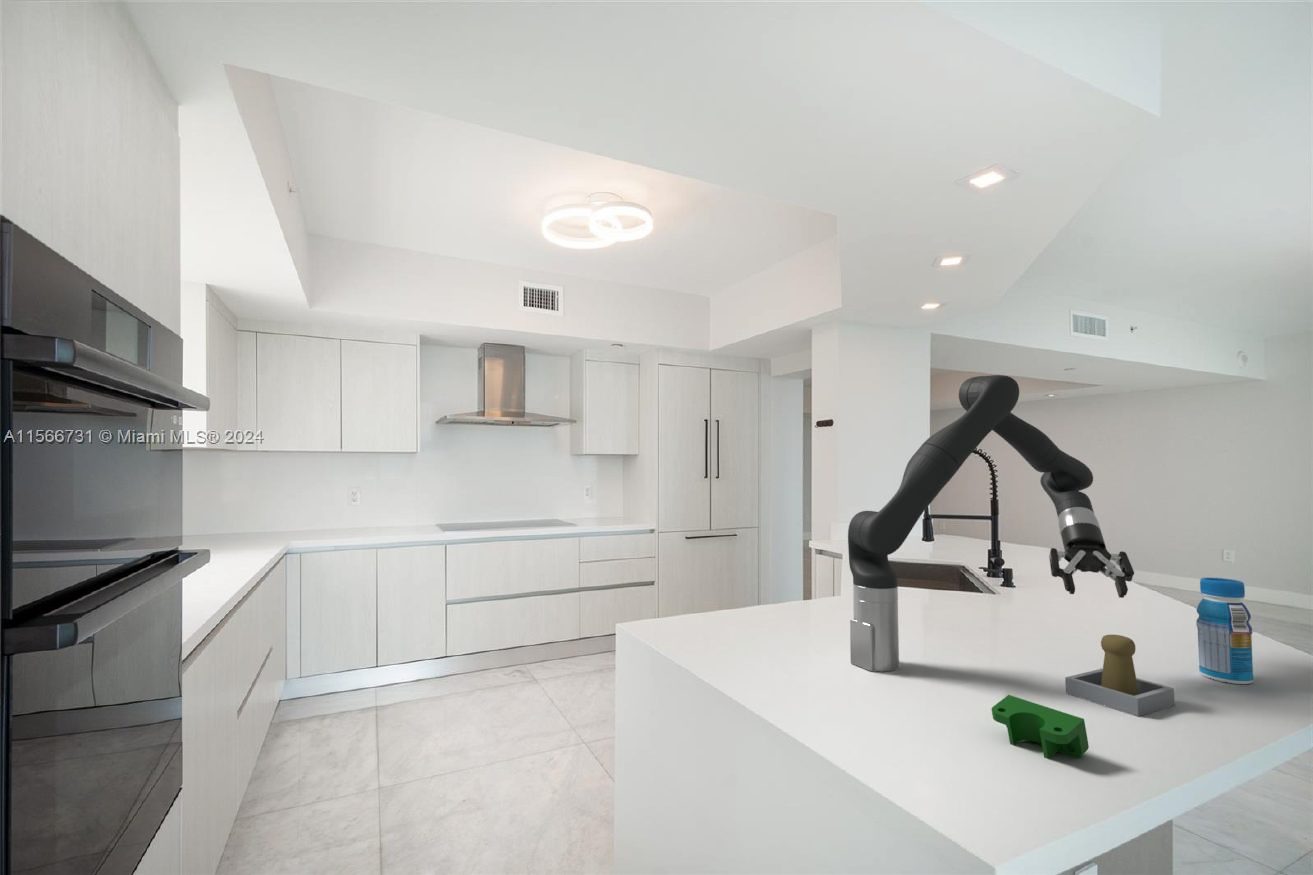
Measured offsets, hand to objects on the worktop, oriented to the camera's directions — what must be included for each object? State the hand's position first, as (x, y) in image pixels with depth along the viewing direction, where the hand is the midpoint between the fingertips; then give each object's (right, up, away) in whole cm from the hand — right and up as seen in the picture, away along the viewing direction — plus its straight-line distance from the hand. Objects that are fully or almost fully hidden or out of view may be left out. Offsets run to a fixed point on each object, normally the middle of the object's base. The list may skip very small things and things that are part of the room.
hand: (1097, 593), depth 125 cm
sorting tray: (-4, -17, -12) cm, 21 cm away
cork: (-4, -16, -11) cm, 20 cm away
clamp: (-32, -16, -32) cm, 48 cm away
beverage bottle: (+27, -18, 0) cm, 32 cm away
